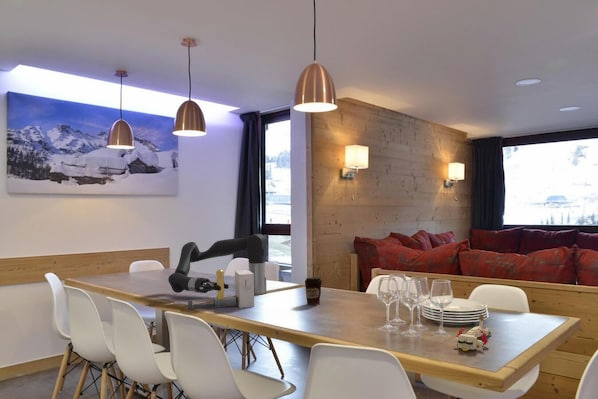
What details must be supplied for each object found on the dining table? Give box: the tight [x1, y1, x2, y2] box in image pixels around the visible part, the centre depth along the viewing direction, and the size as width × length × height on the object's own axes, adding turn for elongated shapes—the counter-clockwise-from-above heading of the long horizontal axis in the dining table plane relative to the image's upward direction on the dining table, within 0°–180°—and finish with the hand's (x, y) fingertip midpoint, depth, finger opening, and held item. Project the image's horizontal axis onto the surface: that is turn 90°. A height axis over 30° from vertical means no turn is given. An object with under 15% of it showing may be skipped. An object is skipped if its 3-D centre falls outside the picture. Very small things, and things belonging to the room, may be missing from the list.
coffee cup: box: [304, 276, 323, 306], centre depth 229 cm, size 9×8×13 cm
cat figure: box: [452, 314, 492, 352], centre depth 159 cm, size 10×9×25 cm
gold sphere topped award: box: [213, 269, 237, 308], centre depth 229 cm, size 10×7×18 cm
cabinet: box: [234, 269, 255, 309], centre depth 231 cm, size 8×15×16 cm, turn 17°
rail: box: [187, 300, 239, 311], centre depth 228 cm, size 26×4×4 cm, turn 107°
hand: (224, 287), depth 227 cm, fingers open, 5 cm apart
